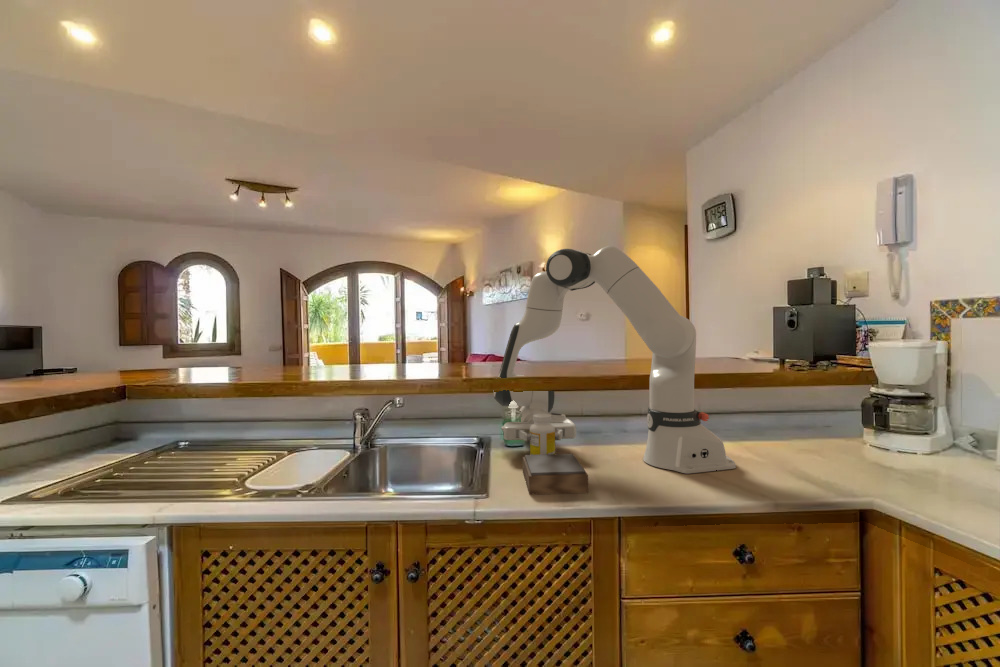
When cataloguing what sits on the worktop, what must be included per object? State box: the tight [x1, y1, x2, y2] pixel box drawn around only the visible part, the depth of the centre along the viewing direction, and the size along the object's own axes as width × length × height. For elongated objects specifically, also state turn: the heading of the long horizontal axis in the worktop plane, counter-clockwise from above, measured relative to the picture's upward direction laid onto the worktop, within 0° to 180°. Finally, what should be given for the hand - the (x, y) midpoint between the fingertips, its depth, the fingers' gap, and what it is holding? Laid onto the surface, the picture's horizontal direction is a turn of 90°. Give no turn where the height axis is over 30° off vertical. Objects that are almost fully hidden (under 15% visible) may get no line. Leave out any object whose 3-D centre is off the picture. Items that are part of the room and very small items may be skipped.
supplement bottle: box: [529, 414, 556, 455], centre depth 120 cm, size 7×7×13 cm
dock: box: [522, 453, 589, 495], centre depth 106 cm, size 13×14×5 cm
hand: (542, 437), depth 119 cm, fingers closed on supplement bottle, 7 cm apart
